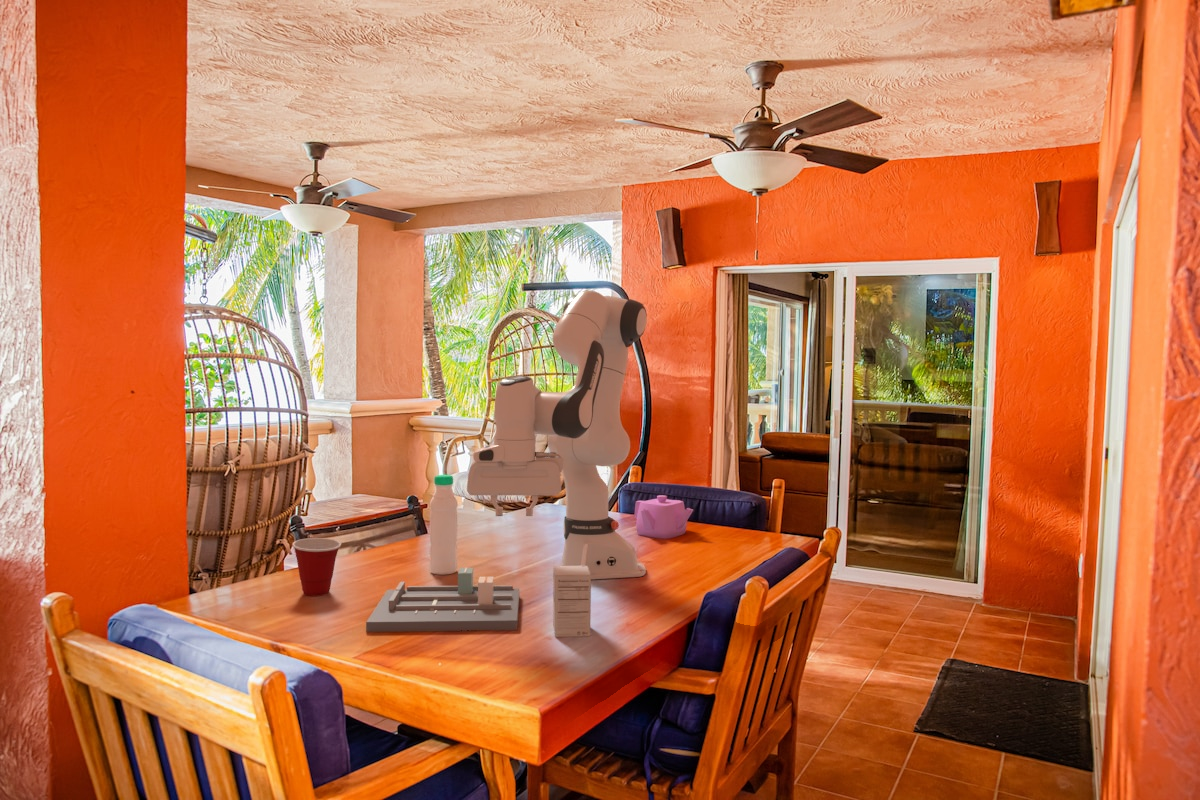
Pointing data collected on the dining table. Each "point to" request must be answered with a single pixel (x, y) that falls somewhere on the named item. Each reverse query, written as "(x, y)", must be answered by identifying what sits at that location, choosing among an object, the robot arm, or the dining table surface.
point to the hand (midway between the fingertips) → (514, 515)
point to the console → (444, 610)
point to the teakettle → (661, 517)
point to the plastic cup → (316, 564)
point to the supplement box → (571, 601)
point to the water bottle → (443, 527)
